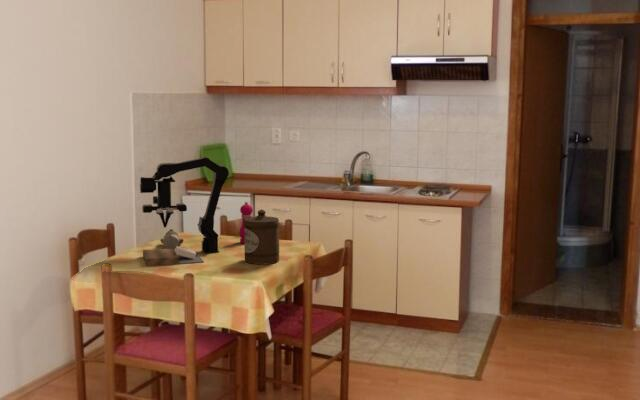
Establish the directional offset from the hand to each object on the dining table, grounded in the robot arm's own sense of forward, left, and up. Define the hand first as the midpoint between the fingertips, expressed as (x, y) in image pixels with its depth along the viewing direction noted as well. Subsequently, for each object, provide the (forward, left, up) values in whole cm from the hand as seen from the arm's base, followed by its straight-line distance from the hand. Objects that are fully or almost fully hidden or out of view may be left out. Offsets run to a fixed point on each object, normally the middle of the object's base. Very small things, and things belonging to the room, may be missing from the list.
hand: (164, 227), depth 324 cm
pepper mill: (-40, -15, -12) cm, 44 cm away
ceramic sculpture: (-4, -15, -12) cm, 20 cm away
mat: (-9, +13, -12) cm, 20 cm away
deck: (+3, +12, -12) cm, 17 cm away
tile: (-7, +13, -10) cm, 18 cm away
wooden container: (-38, +24, -12) cm, 47 cm away
